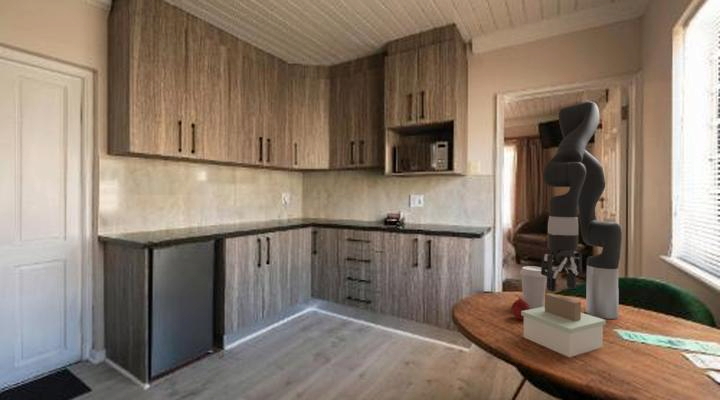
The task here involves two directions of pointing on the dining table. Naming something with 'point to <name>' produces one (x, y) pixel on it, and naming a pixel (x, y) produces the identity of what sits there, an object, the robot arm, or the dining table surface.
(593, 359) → the dining table surface
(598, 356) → the dining table surface
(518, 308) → the onion
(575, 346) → the box
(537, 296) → the coffee cup
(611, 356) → the dining table surface
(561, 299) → the lid
